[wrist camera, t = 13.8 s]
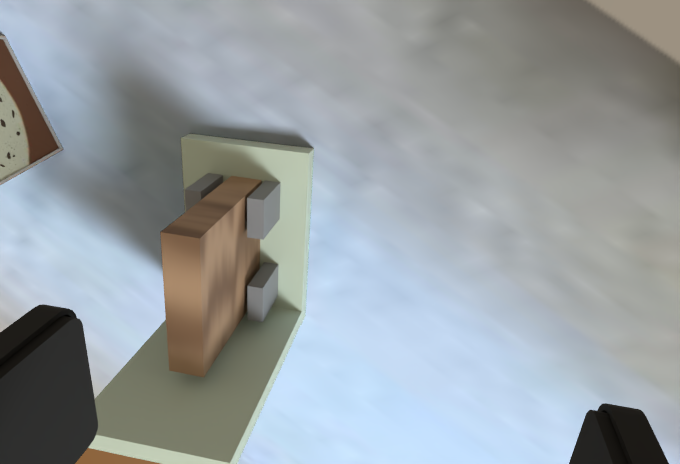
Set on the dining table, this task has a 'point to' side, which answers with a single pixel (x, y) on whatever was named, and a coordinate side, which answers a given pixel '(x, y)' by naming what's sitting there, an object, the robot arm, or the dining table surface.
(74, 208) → the dining table surface
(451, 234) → the dining table surface
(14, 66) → the food container
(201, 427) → the hinge base
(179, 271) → the wooden block
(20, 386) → the robot arm
